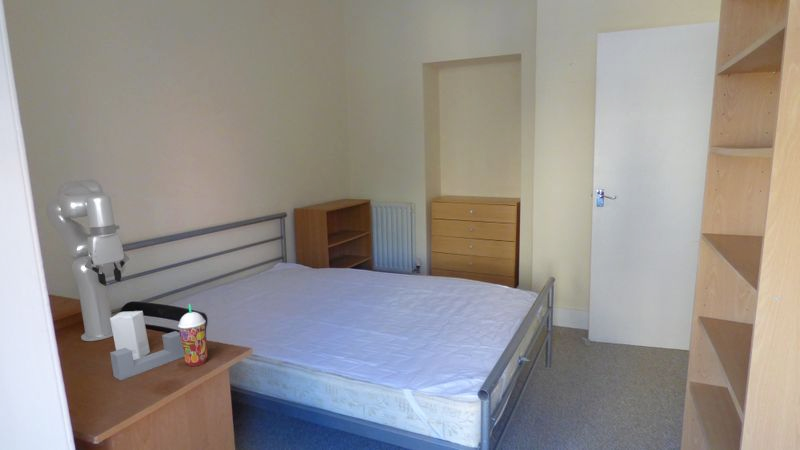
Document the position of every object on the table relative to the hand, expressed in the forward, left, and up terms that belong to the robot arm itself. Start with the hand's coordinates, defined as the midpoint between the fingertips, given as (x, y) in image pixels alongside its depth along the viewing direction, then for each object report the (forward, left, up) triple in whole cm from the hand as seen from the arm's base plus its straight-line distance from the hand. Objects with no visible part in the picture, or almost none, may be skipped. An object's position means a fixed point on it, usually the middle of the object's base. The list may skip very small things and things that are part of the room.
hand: (110, 282), depth 176 cm
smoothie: (+34, +10, -26) cm, 44 cm away
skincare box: (+10, 0, -26) cm, 27 cm away
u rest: (+23, 0, -25) cm, 34 cm away
